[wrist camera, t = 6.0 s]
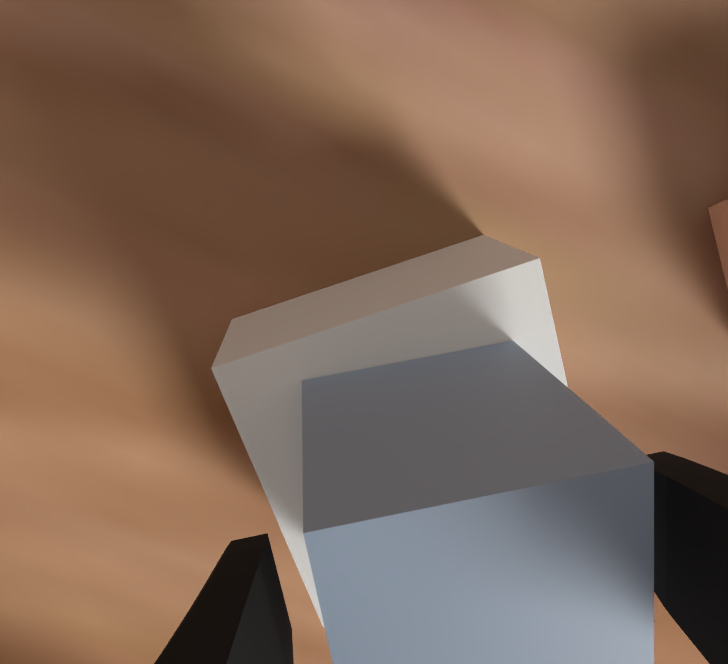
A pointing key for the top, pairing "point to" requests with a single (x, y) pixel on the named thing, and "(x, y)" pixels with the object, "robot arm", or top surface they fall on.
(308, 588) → the white block
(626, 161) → the top surface
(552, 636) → the slate cube
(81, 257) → the top surface
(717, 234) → the terracotta block
